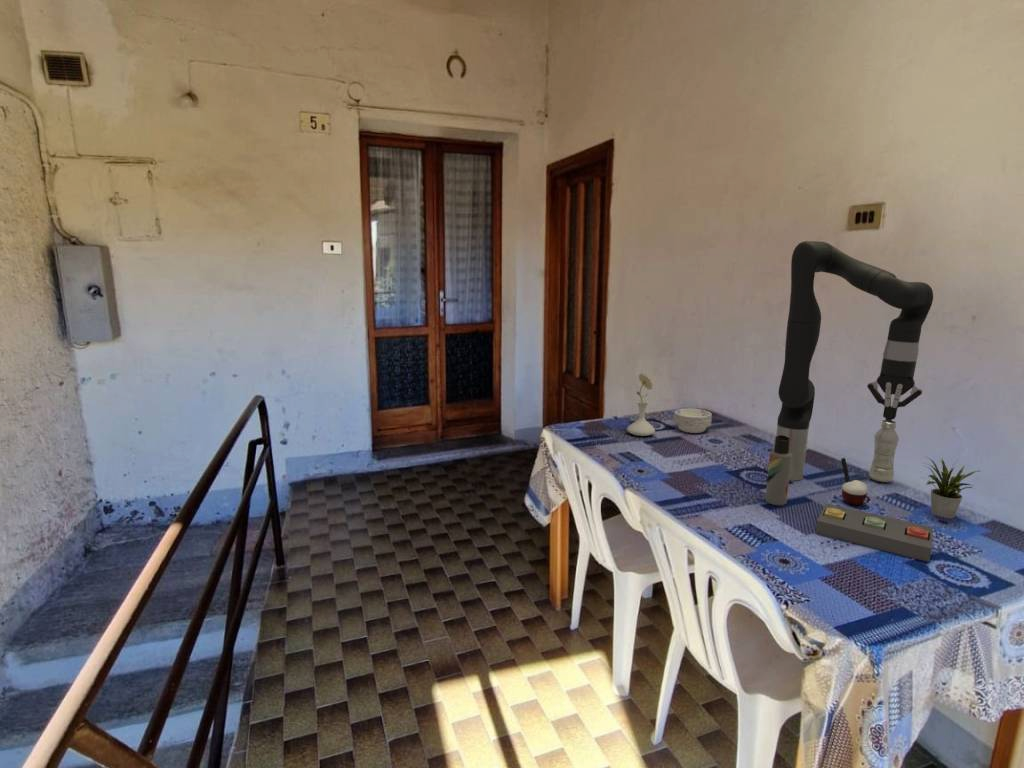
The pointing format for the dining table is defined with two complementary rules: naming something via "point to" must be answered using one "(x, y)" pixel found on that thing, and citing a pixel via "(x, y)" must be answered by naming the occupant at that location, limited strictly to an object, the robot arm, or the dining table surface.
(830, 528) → the panel
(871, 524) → the sage button
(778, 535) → the dining table surface
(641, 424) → the flower in vase
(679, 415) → the paper bowls
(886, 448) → the plastic bottle
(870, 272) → the robot arm
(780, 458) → the lotion bottle
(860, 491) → the cocoa
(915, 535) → the red button
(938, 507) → the house plant
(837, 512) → the ochre button
